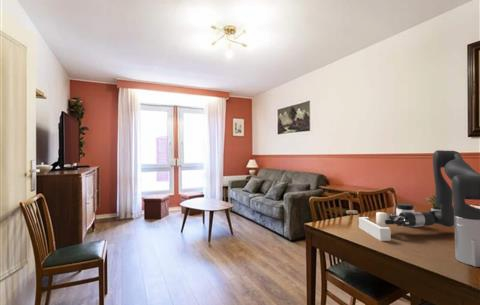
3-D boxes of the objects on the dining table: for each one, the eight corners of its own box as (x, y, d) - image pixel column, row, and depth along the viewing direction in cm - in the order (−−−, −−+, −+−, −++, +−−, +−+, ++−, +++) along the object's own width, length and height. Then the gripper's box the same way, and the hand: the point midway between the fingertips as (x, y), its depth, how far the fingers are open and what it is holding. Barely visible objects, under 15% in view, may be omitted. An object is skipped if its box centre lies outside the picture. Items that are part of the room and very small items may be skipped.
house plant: (450, 216, 159) (449, 191, 159) (458, 221, 146) (457, 194, 146) (423, 214, 165) (422, 190, 165) (429, 219, 152) (428, 193, 152)
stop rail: (390, 240, 118) (390, 228, 118) (380, 240, 118) (380, 228, 118) (367, 227, 140) (367, 216, 140) (358, 227, 140) (358, 217, 140)
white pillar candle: (390, 235, 125) (389, 214, 126) (380, 235, 125) (379, 214, 126) (384, 232, 131) (383, 211, 131) (374, 232, 131) (374, 212, 131)
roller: (358, 214, 171) (357, 210, 171) (348, 214, 171) (347, 210, 171) (356, 213, 173) (356, 210, 173) (346, 213, 173) (346, 210, 174)
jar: (410, 227, 138) (409, 206, 138) (394, 224, 145) (394, 204, 145) (416, 224, 143) (416, 204, 143) (401, 221, 150) (401, 202, 150)
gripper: (402, 209, 135) (373, 209, 135) (421, 215, 121) (388, 216, 121) (403, 222, 135) (373, 223, 135) (422, 230, 121) (389, 231, 121)
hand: (380, 219), depth 128 cm, fingers open, 8 cm apart
